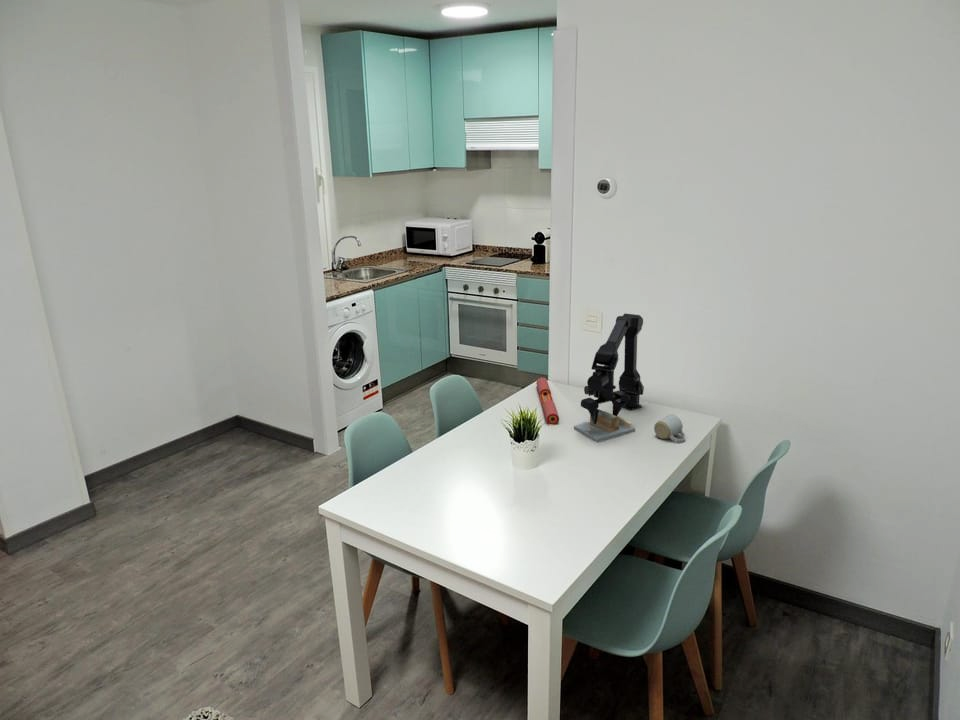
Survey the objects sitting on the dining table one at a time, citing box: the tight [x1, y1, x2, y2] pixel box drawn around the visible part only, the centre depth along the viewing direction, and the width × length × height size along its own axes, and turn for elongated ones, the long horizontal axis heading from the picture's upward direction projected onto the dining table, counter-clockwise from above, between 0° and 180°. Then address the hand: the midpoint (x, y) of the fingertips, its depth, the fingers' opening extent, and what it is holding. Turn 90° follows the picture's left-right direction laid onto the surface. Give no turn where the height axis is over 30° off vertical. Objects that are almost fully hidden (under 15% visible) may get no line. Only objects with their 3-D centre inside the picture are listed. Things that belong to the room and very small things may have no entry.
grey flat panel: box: [573, 412, 636, 443], centre depth 249 cm, size 18×14×3 cm
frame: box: [589, 408, 620, 433], centre depth 248 cm, size 5×10×5 cm, turn 37°
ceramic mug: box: [653, 413, 686, 443], centre depth 240 cm, size 11×8×8 cm
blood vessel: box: [536, 377, 560, 425], centre depth 275 cm, size 42×5×5 cm, turn 1°
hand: (604, 421), depth 248 cm, fingers open, 9 cm apart
